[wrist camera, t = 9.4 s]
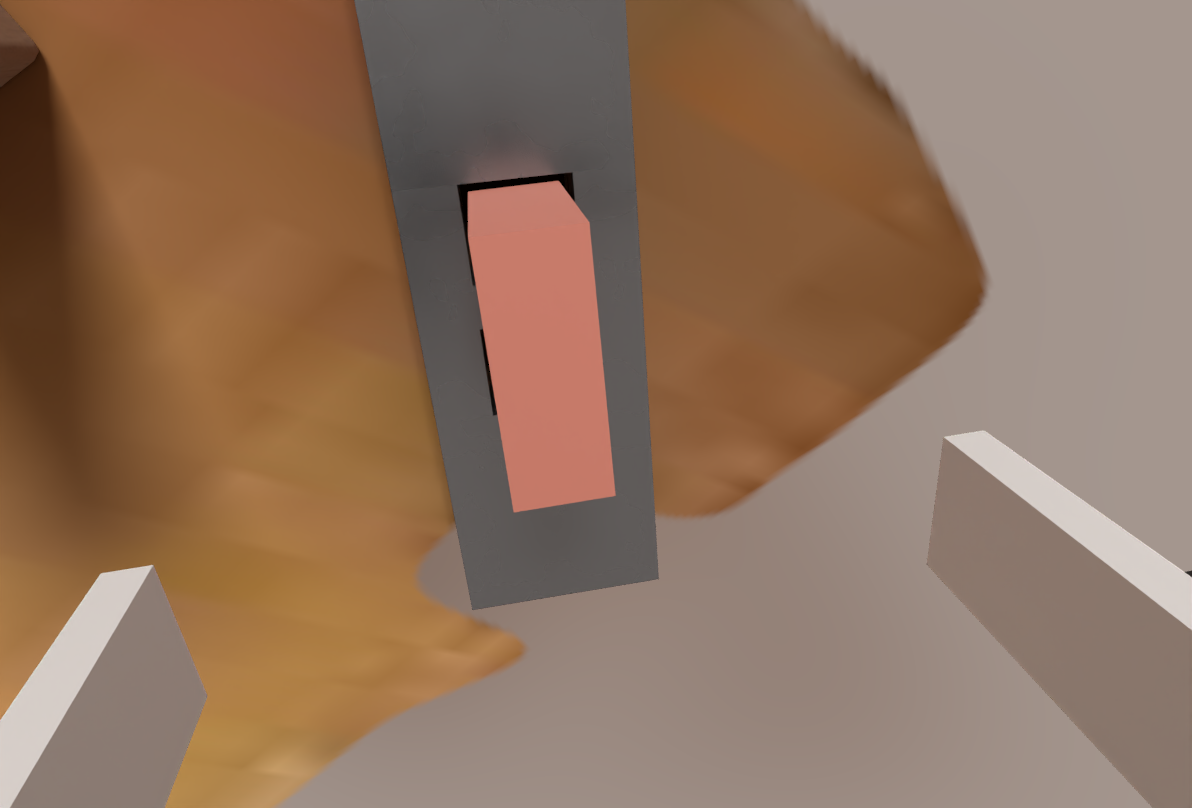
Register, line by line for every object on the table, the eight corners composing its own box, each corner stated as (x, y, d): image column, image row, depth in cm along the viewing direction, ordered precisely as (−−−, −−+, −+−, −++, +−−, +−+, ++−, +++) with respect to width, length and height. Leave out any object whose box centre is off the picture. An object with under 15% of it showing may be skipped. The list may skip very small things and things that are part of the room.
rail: (472, 566, 34) (472, 610, 32) (343, -116, 23) (327, -139, 21) (643, 539, 35) (658, 579, 32) (599, -133, 24) (616, -157, 21)
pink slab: (500, 379, 31) (513, 512, 22) (467, 178, 27) (467, 237, 18) (572, 369, 31) (615, 495, 22) (549, 168, 28) (589, 222, 19)
